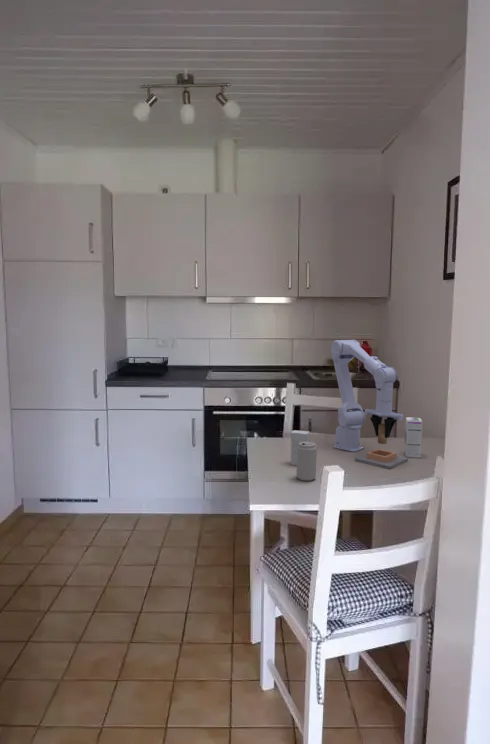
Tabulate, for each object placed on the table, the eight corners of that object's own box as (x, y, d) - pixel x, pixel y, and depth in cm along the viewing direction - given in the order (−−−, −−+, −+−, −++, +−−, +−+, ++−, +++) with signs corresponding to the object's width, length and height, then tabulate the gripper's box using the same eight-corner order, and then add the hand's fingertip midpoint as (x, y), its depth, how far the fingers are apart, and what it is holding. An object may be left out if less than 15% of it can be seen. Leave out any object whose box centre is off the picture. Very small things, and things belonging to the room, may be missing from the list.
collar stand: (355, 460, 190) (355, 452, 190) (374, 453, 201) (374, 445, 200) (389, 469, 181) (390, 460, 181) (407, 460, 191) (408, 453, 191)
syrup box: (421, 458, 195) (423, 420, 193) (405, 457, 196) (407, 419, 194) (419, 453, 200) (421, 417, 198) (403, 452, 202) (405, 416, 200)
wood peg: (376, 442, 190) (376, 424, 189) (380, 441, 192) (381, 423, 191) (383, 444, 188) (384, 425, 187) (388, 442, 190) (389, 424, 189)
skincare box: (309, 463, 187) (310, 431, 185) (306, 466, 183) (307, 434, 181) (293, 461, 189) (293, 429, 187) (290, 464, 185) (290, 432, 183)
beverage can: (294, 475, 173) (295, 441, 171) (313, 475, 174) (314, 440, 172) (298, 482, 167) (299, 446, 165) (317, 481, 167) (318, 445, 166)
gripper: (361, 399, 190) (359, 434, 192) (397, 404, 180) (395, 442, 182) (370, 396, 195) (369, 431, 197) (406, 401, 185) (404, 438, 187)
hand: (382, 436), depth 190 cm, fingers closed on wood peg, 3 cm apart
